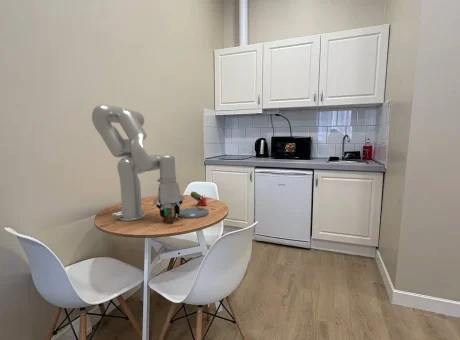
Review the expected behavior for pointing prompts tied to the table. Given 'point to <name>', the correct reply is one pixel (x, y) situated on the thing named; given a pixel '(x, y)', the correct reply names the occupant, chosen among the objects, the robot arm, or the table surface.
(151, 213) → the table surface
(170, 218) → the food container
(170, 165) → the robot arm
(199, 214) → the slate dish
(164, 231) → the table surface
